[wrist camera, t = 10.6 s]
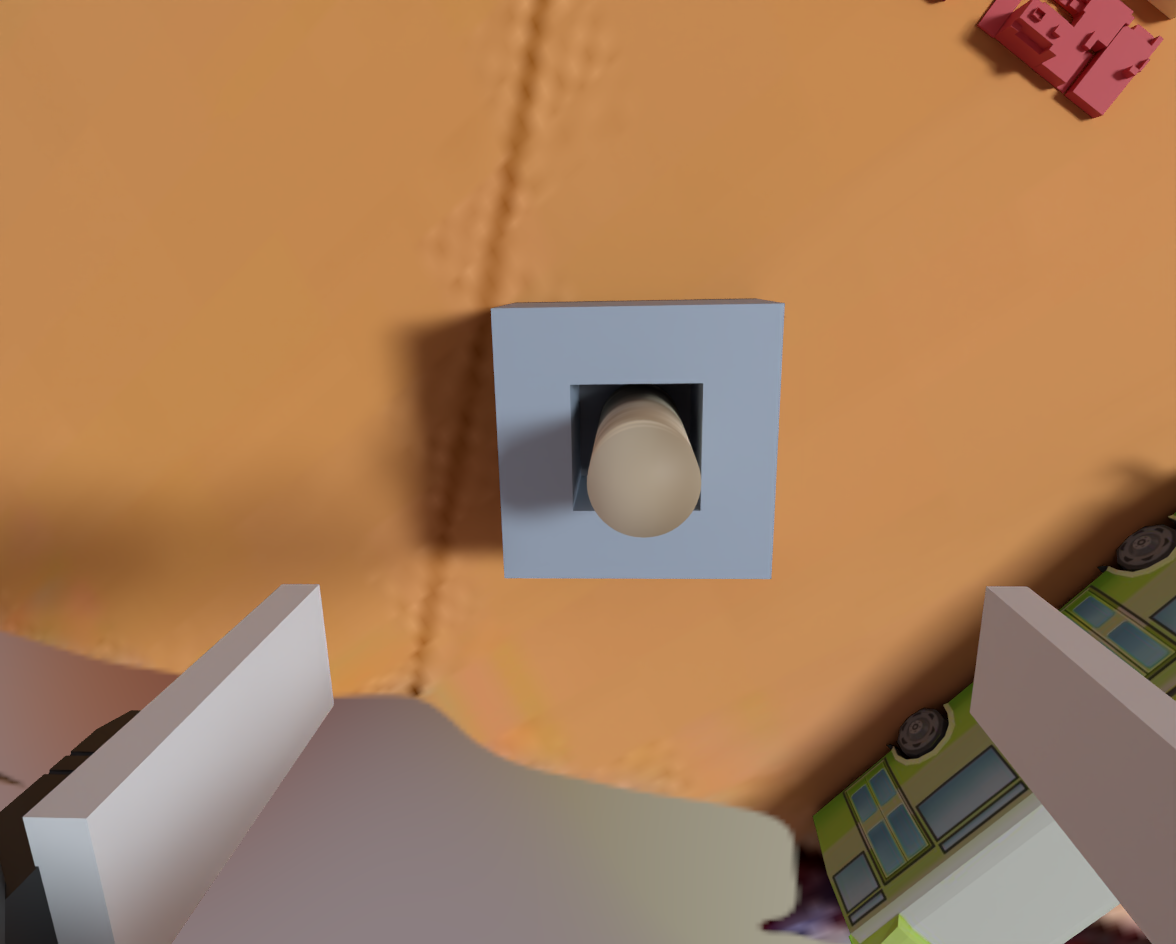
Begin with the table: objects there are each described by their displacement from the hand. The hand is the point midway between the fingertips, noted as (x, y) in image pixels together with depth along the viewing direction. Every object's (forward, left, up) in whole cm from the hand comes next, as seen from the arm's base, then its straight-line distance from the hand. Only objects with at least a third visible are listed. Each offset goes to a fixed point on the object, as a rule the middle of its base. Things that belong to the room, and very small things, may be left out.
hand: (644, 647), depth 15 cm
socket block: (0, 0, -25) cm, 25 cm away
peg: (0, 0, -24) cm, 24 cm away
